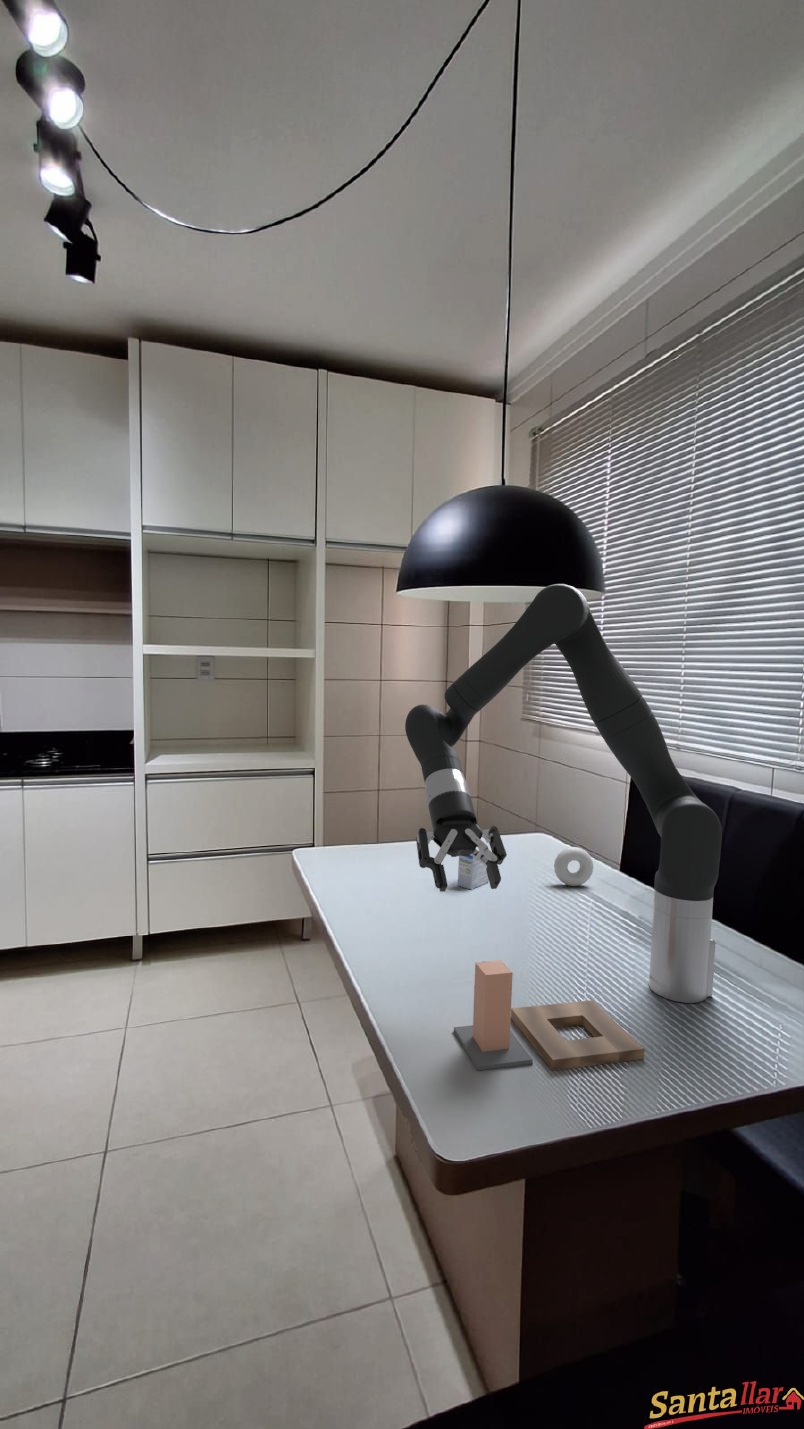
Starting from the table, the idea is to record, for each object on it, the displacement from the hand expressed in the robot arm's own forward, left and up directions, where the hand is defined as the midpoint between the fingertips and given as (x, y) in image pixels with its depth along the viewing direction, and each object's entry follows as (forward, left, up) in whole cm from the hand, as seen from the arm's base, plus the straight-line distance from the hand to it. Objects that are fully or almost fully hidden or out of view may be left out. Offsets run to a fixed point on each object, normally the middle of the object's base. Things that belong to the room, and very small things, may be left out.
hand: (470, 888), depth 105 cm
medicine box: (-23, -59, -20) cm, 66 cm away
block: (0, +11, -19) cm, 22 cm away
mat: (0, +11, -20) cm, 22 cm away
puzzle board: (-13, +11, -20) cm, 26 cm away
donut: (-48, -54, -20) cm, 75 cm away
